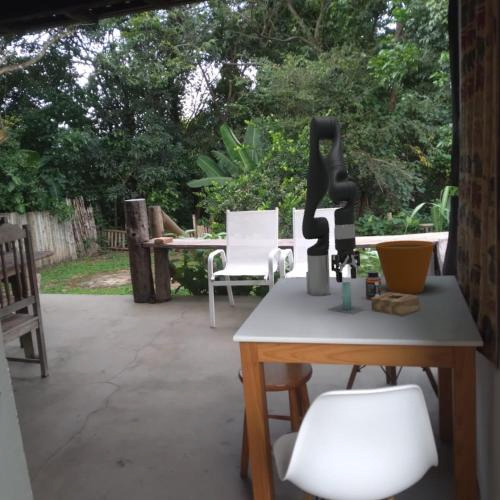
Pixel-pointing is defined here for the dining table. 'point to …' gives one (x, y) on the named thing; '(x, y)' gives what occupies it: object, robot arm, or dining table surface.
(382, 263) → the flower pot
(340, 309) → the mat
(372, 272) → the supplement bottle
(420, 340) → the dining table surface
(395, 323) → the dining table surface
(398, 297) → the hole block
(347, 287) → the peg
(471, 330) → the dining table surface
